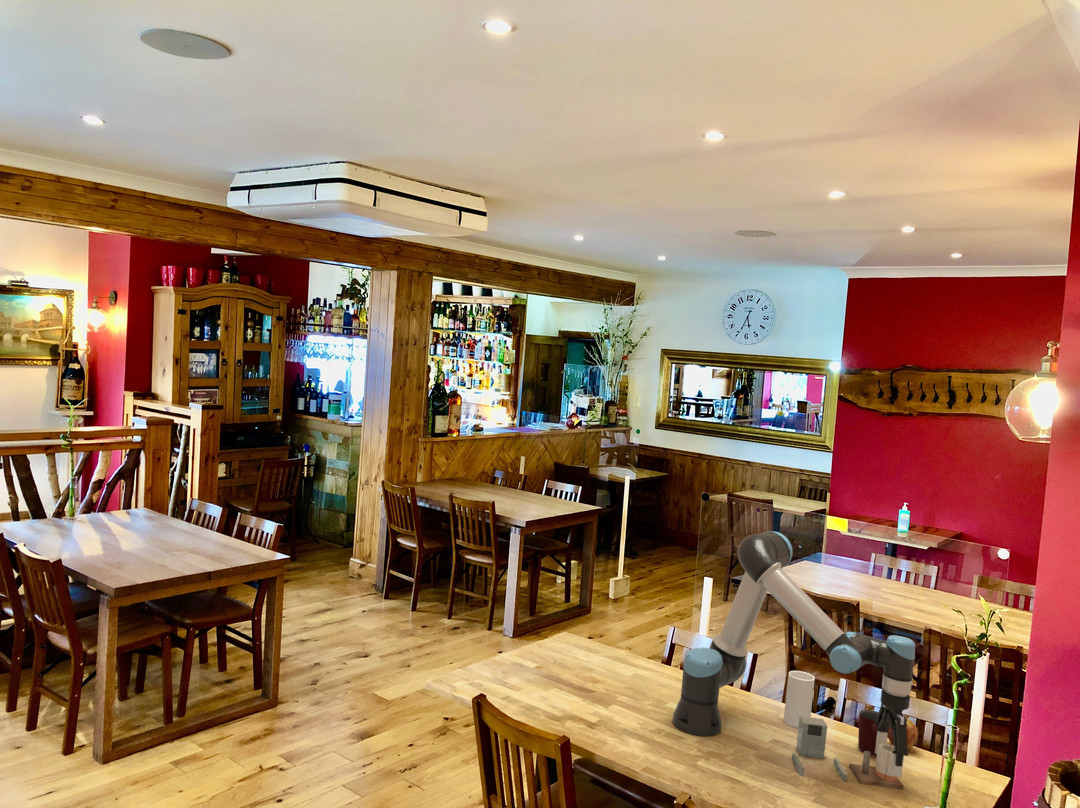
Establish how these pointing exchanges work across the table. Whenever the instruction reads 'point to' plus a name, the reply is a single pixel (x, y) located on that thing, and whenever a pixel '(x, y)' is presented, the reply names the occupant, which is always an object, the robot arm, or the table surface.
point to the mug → (868, 731)
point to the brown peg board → (871, 774)
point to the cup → (798, 697)
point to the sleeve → (885, 762)
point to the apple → (911, 734)
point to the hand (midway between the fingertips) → (887, 764)
